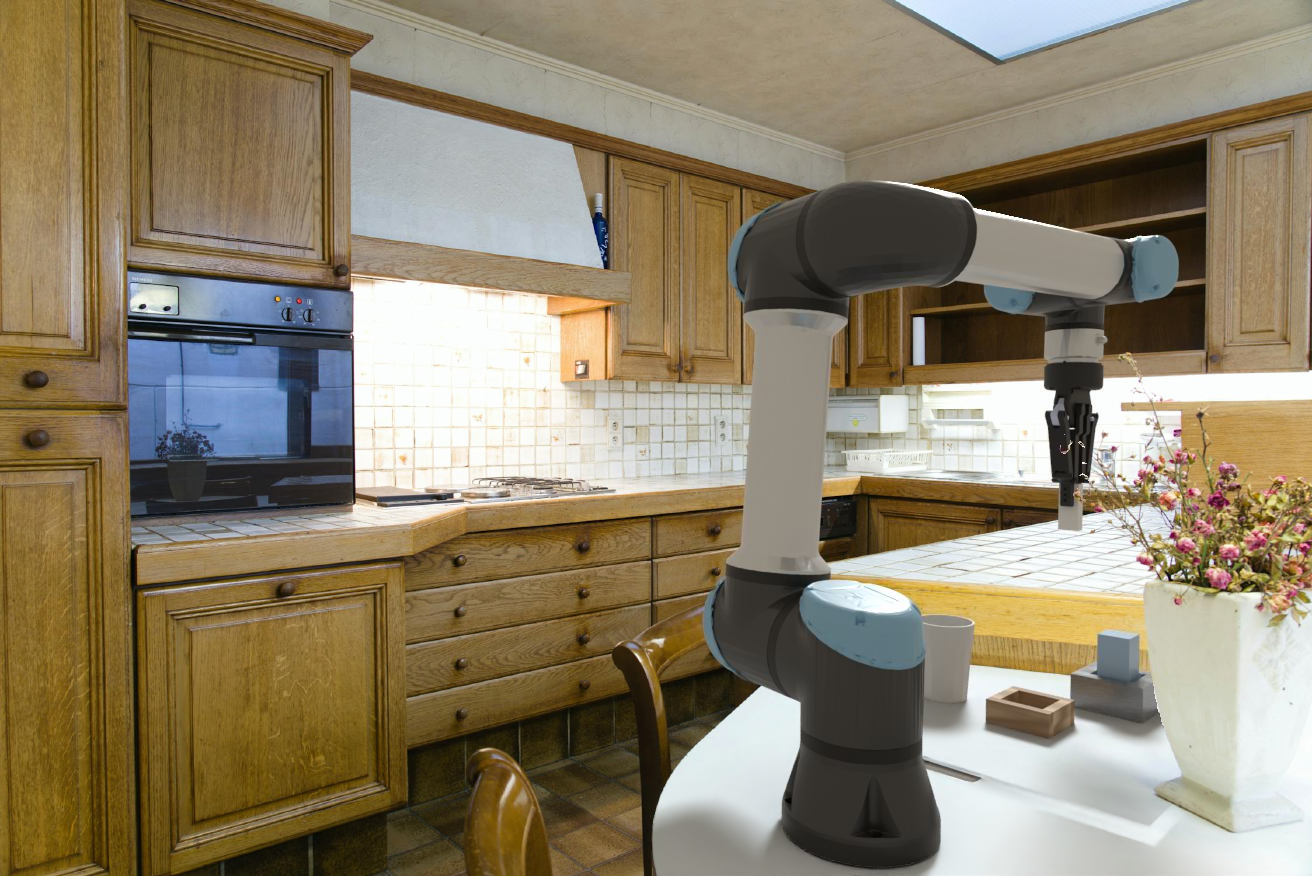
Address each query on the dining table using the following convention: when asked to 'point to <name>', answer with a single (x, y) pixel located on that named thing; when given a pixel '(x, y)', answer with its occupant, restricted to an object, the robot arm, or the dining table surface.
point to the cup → (947, 657)
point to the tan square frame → (1030, 711)
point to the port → (1114, 694)
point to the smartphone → (950, 771)
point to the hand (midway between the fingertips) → (1070, 529)
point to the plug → (1118, 655)
